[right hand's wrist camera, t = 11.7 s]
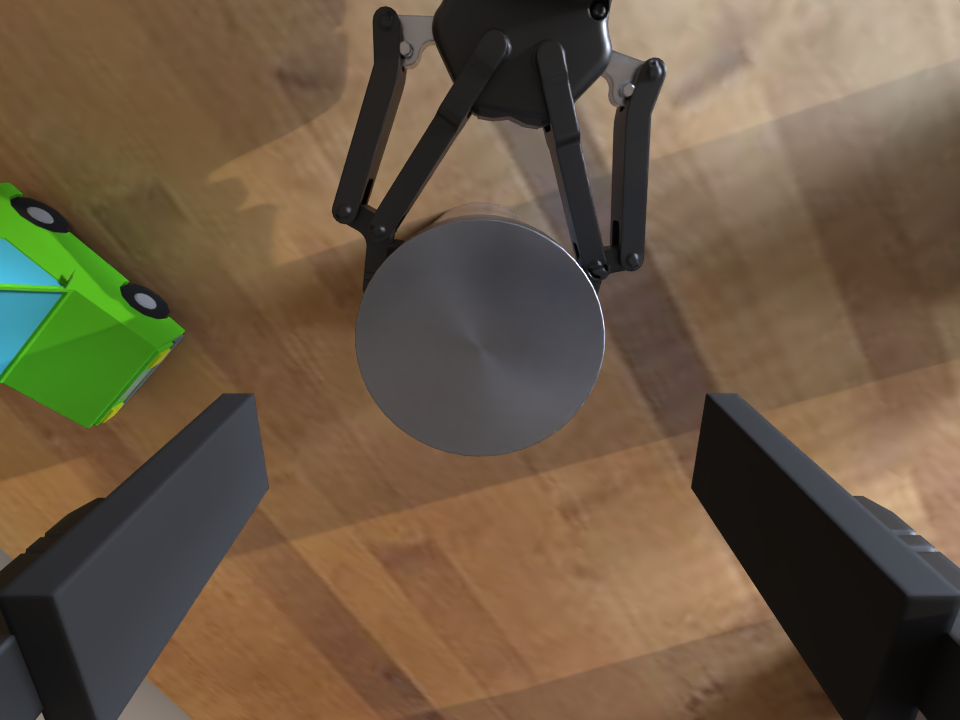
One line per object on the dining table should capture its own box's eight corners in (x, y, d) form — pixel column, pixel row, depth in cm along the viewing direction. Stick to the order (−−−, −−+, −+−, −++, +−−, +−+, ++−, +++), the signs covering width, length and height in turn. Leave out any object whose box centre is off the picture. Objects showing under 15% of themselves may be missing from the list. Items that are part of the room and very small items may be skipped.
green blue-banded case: (127, 412, 38) (13, 492, 29) (-45, 283, 35) (-236, 326, 26) (210, 317, 36) (115, 371, 27) (33, 169, 33) (-146, 171, 23)
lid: (636, 272, 21) (650, 282, 20) (535, 463, 24) (539, 487, 23) (413, 173, 20) (406, 173, 18) (335, 388, 23) (322, 407, 21)
